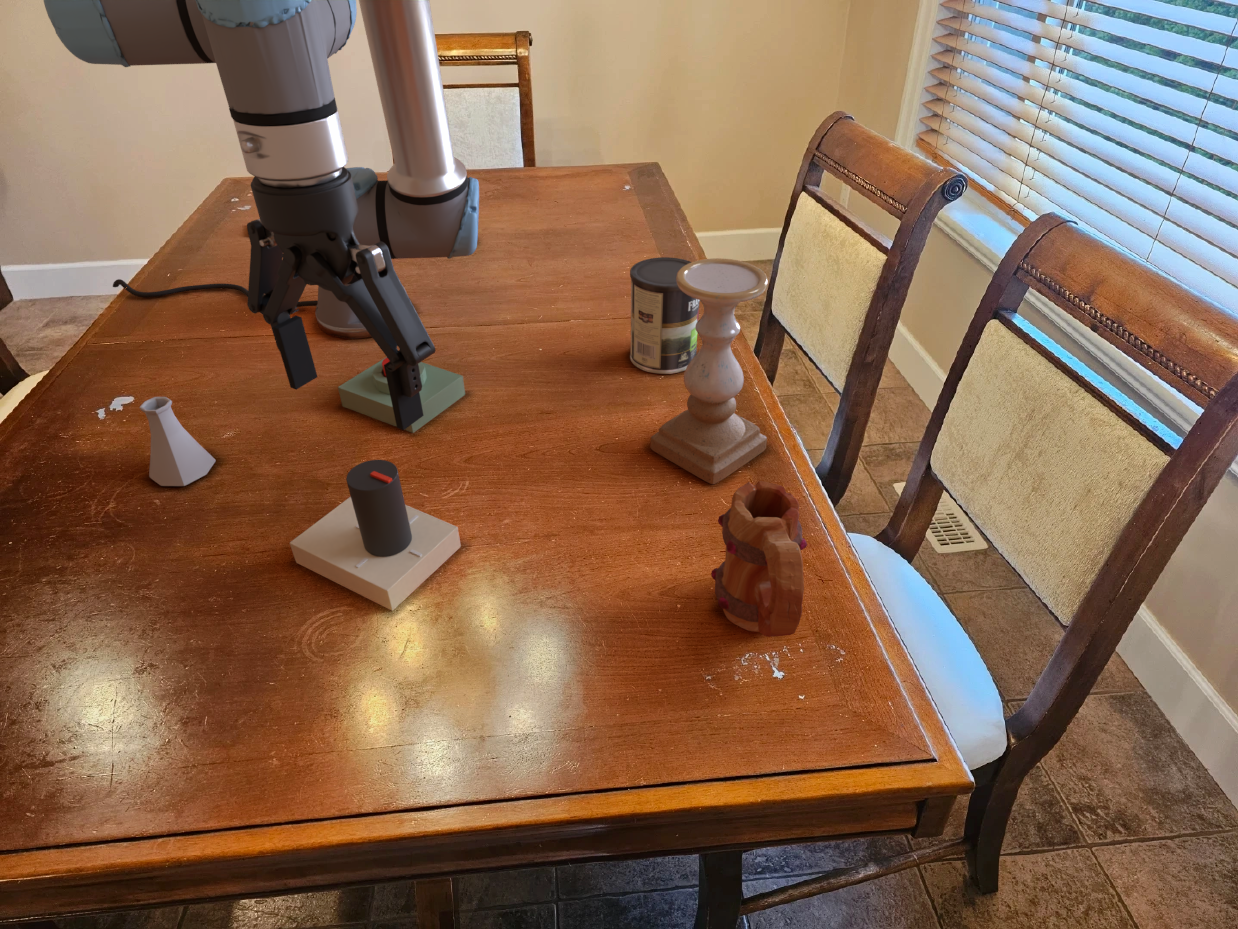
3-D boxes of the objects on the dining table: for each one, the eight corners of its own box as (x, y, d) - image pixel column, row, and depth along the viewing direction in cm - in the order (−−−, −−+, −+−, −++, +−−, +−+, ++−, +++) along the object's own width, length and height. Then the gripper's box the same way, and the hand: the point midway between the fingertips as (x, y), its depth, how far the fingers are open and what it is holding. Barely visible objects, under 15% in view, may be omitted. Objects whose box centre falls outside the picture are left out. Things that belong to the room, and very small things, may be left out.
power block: (342, 406, 111) (334, 375, 108) (396, 371, 119) (391, 341, 116) (413, 433, 106) (407, 401, 103) (465, 394, 113) (461, 364, 110)
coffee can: (700, 344, 125) (706, 259, 116) (691, 378, 117) (697, 289, 108) (636, 338, 127) (637, 253, 118) (623, 370, 119) (623, 282, 110)
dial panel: (295, 562, 87) (288, 541, 85) (368, 506, 94) (363, 485, 92) (392, 611, 81) (386, 589, 79) (461, 546, 88) (457, 525, 87)
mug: (703, 577, 85) (714, 466, 75) (779, 573, 85) (798, 461, 76) (730, 692, 73) (746, 577, 64) (817, 686, 74) (845, 570, 64)
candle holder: (703, 415, 109) (715, 248, 95) (767, 448, 103) (791, 275, 88) (648, 448, 103) (652, 275, 89) (713, 486, 97) (729, 307, 82)
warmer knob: (354, 546, 84) (334, 478, 78) (386, 519, 88) (370, 451, 82) (389, 563, 82) (372, 493, 76) (421, 534, 86) (407, 466, 80)
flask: (227, 459, 101) (202, 393, 95) (185, 493, 96) (156, 425, 90) (182, 448, 103) (154, 382, 97) (138, 481, 98) (106, 414, 92)
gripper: (154, 160, 64) (233, 384, 77) (385, 215, 54) (431, 462, 67) (232, 137, 69) (293, 351, 82) (456, 184, 59) (485, 419, 72)
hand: (355, 401), depth 75 cm, fingers open, 13 cm apart
